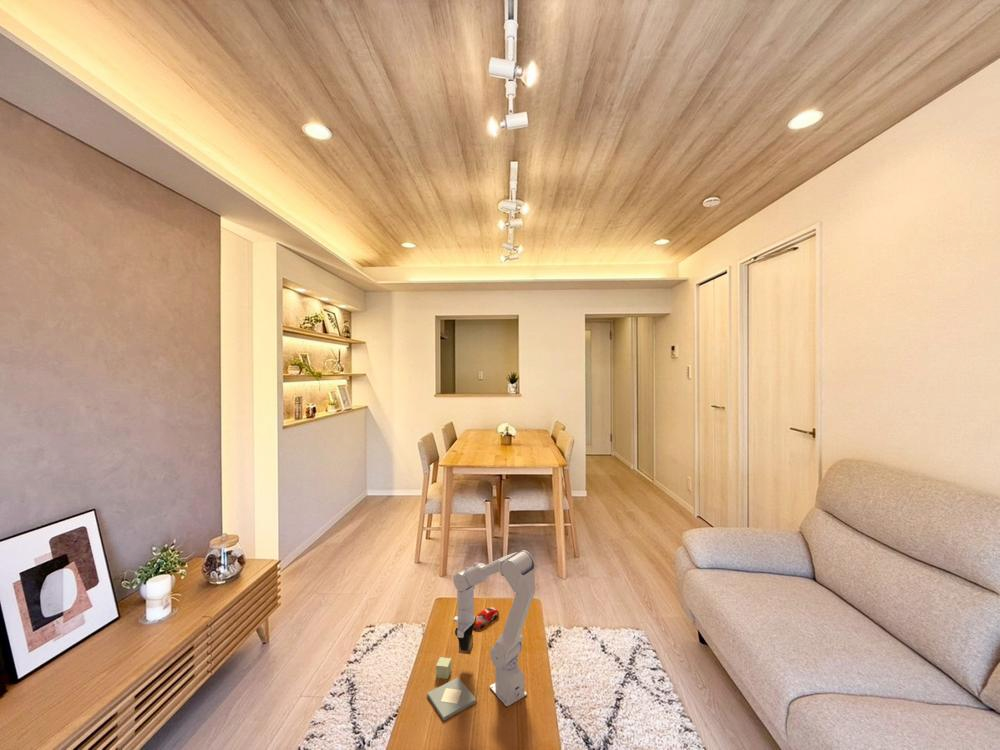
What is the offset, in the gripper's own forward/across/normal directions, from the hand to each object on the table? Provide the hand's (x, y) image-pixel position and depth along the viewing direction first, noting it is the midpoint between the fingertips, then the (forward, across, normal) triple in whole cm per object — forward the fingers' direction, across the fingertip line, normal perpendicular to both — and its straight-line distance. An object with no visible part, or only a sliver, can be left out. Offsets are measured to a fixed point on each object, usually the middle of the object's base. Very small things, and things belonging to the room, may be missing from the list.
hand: (466, 645), depth 136 cm
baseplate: (+7, +15, -1) cm, 16 cm away
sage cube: (+7, +5, -6) cm, 11 cm away
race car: (+7, -26, +1) cm, 27 cm away
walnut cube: (+2, 0, 0) cm, 2 cm away
